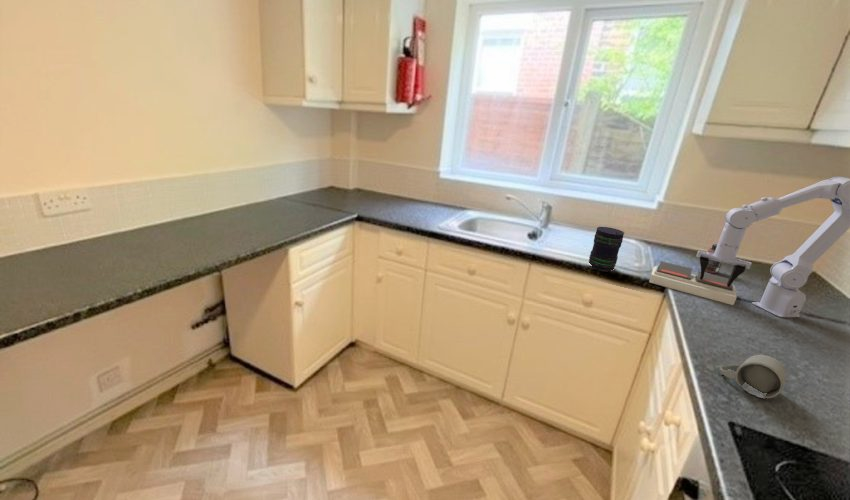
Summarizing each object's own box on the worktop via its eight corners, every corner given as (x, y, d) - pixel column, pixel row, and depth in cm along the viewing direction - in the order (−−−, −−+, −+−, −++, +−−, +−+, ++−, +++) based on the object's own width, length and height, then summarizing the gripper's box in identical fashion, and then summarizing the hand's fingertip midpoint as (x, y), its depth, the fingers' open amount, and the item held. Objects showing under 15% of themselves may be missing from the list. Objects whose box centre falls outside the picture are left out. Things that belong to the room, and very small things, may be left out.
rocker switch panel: (731, 293, 136) (735, 283, 135) (733, 305, 126) (737, 294, 125) (652, 273, 149) (655, 263, 147) (648, 282, 139) (652, 272, 138)
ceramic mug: (780, 390, 84) (794, 361, 82) (774, 406, 79) (788, 375, 77) (723, 366, 92) (734, 338, 89) (714, 379, 87) (725, 350, 84)
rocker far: (691, 271, 139) (692, 268, 139) (689, 281, 134) (690, 278, 134) (659, 263, 144) (660, 260, 144) (656, 273, 140) (657, 270, 139)
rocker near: (731, 282, 133) (732, 279, 133) (731, 291, 128) (732, 288, 127) (697, 274, 138) (698, 270, 138) (696, 282, 133) (697, 279, 133)
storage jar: (582, 262, 153) (590, 226, 148) (601, 261, 157) (610, 226, 152) (600, 272, 145) (610, 234, 140) (620, 270, 148) (630, 234, 143)
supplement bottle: (721, 275, 154) (731, 248, 150) (705, 272, 155) (714, 246, 151) (713, 269, 160) (723, 244, 156) (698, 267, 160) (707, 242, 157)
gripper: (755, 247, 126) (739, 285, 130) (702, 236, 133) (689, 272, 138) (757, 252, 120) (741, 291, 125) (702, 240, 128) (689, 278, 132)
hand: (714, 281), depth 131 cm, fingers open, 7 cm apart
